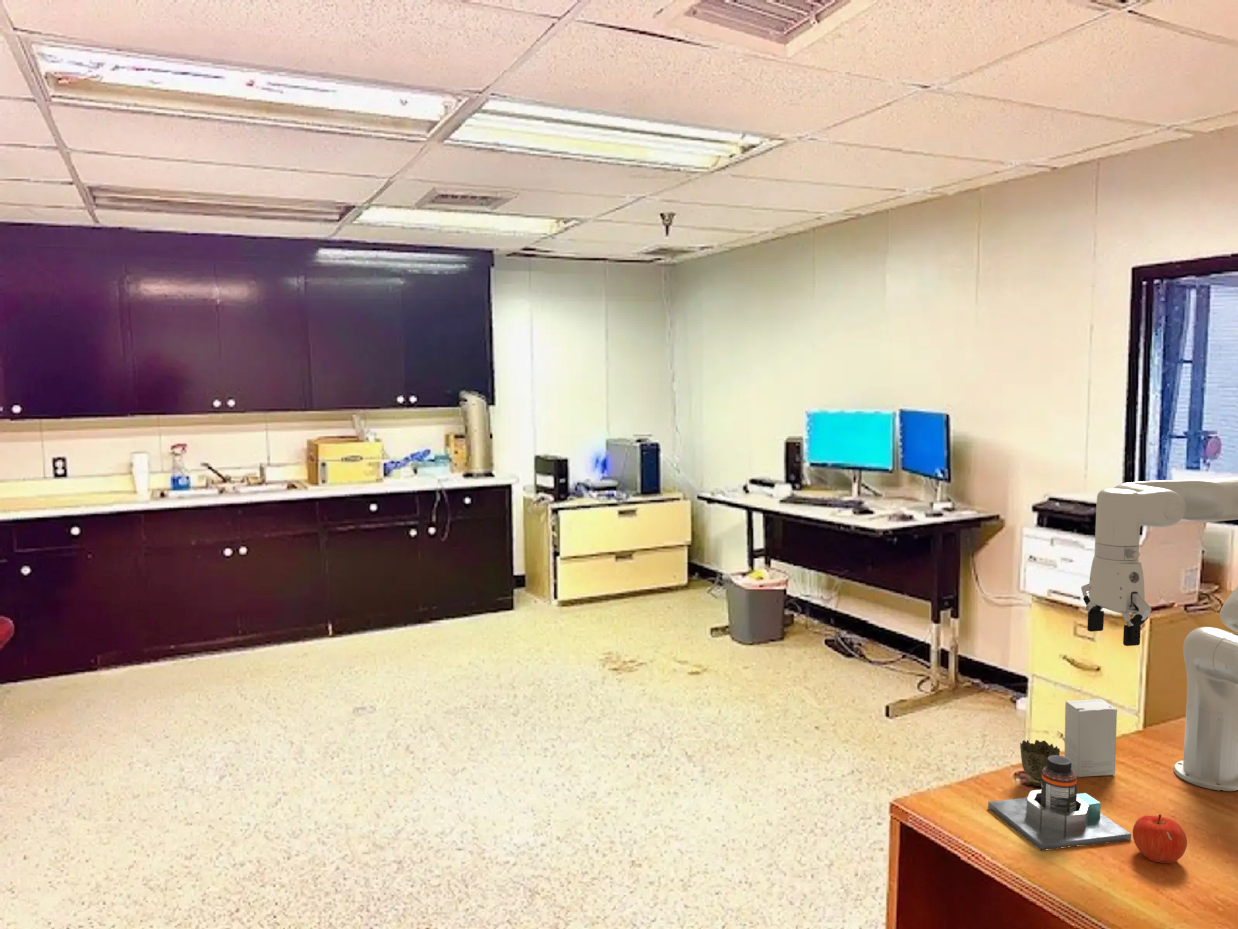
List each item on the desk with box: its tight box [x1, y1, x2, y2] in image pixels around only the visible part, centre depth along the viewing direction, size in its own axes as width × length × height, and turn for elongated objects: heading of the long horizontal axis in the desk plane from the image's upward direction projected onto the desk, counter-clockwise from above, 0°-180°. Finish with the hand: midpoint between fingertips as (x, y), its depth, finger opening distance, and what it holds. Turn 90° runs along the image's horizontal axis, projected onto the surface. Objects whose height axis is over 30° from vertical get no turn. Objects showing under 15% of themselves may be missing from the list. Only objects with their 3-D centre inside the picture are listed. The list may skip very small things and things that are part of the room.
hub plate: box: [988, 789, 1132, 851], centre depth 164 cm, size 18×16×4 cm
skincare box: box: [1063, 698, 1118, 778], centre depth 185 cm, size 8×6×15 cm
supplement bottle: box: [1040, 755, 1078, 812], centre depth 164 cm, size 6×6×11 cm
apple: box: [1132, 813, 1188, 864], centre depth 152 cm, size 8×8×8 cm
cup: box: [1019, 739, 1061, 787], centre depth 180 cm, size 8×7×8 cm
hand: (1112, 637), depth 172 cm, fingers open, 9 cm apart
